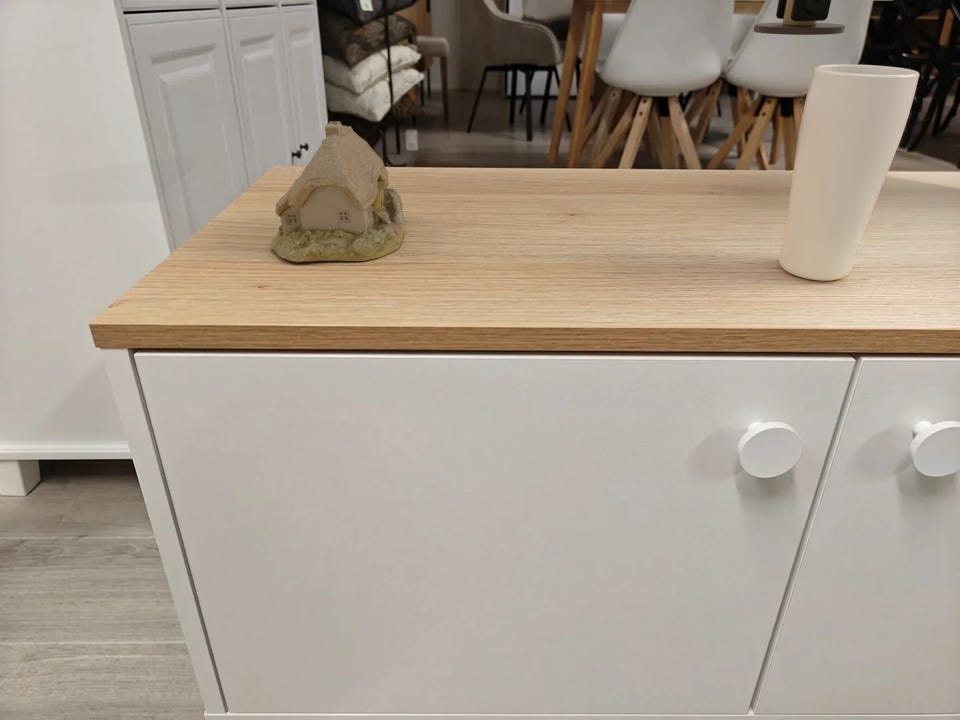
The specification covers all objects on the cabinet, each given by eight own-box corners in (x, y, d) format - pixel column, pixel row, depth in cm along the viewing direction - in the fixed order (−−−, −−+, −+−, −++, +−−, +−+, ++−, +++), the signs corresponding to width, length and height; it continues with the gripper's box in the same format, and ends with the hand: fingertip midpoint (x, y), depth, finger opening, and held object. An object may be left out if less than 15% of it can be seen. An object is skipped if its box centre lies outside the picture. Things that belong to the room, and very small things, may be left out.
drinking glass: (804, 291, 51) (861, 76, 43) (750, 259, 56) (792, 65, 49) (879, 282, 52) (946, 73, 45) (818, 252, 58) (869, 63, 50)
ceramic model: (389, 268, 54) (381, 141, 49) (255, 263, 55) (234, 137, 50) (419, 215, 67) (415, 109, 62) (309, 211, 67) (296, 106, 63)
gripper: (955, -264, 48) (882, 24, 57) (851, -209, 62) (806, 15, 71) (849, -262, 48) (793, 25, 57) (769, -207, 62) (734, 15, 71)
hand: (800, 17), depth 64 cm, fingers closed on lid, 3 cm apart
